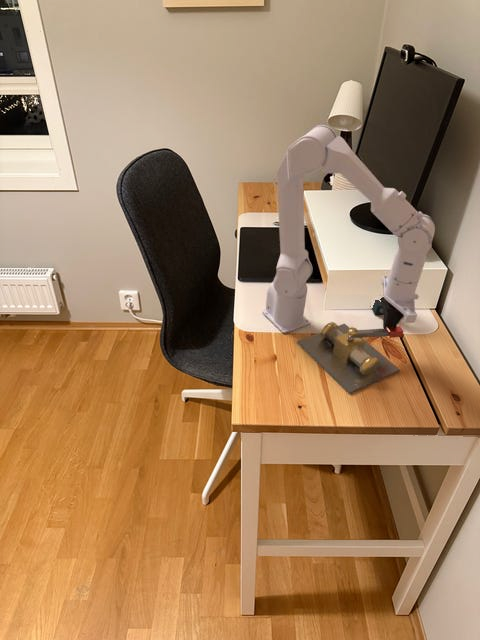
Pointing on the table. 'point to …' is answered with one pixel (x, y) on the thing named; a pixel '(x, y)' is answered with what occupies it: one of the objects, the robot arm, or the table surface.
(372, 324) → the table surface
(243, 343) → the table surface
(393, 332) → the lever
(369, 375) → the valve
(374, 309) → the watch
